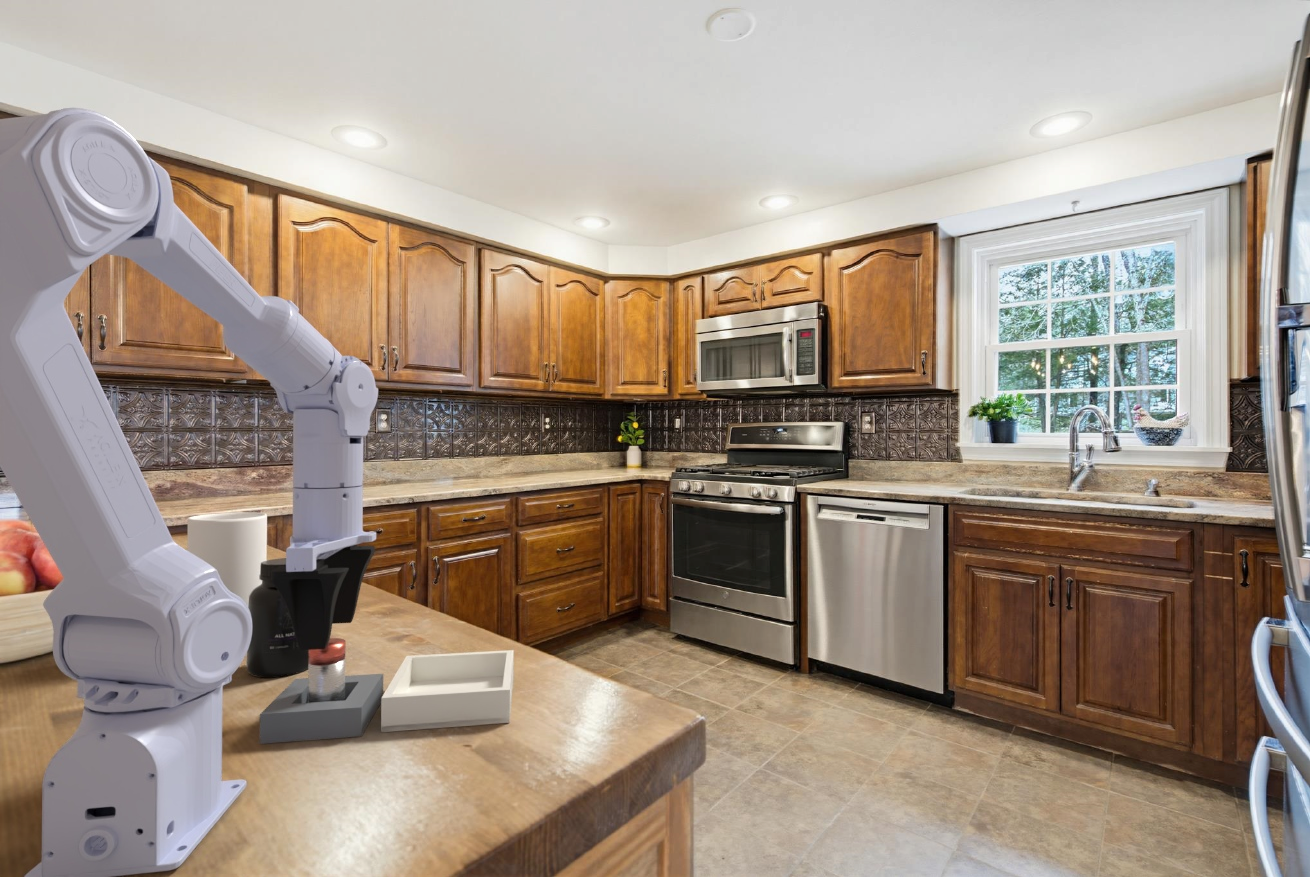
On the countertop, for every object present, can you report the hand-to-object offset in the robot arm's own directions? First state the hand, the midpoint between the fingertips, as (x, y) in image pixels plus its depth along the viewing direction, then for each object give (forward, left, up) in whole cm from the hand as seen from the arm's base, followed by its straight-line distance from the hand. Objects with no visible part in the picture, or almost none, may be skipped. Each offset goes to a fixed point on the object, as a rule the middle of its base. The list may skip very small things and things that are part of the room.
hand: (327, 634), depth 58 cm
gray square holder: (0, 0, -8) cm, 8 cm away
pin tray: (+2, -11, -8) cm, 14 cm away
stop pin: (0, 0, -8) cm, 8 cm away
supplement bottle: (+15, +9, -8) cm, 19 cm away
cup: (+25, +19, -8) cm, 32 cm away
